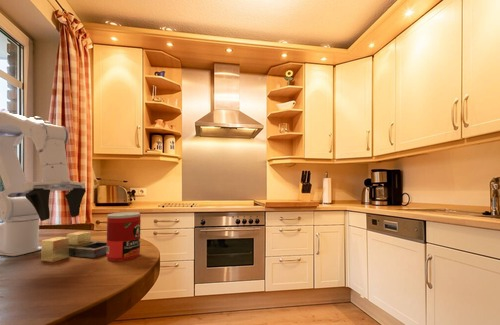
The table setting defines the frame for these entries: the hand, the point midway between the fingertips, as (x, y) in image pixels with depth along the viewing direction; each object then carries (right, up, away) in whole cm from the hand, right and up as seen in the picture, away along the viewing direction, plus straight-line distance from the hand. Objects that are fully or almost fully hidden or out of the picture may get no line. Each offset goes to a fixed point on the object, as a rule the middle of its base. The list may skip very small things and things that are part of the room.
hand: (61, 218), depth 66 cm
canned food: (+16, -10, 0) cm, 19 cm away
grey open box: (+3, -11, +5) cm, 12 cm away
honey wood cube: (-1, -10, 0) cm, 10 cm away
